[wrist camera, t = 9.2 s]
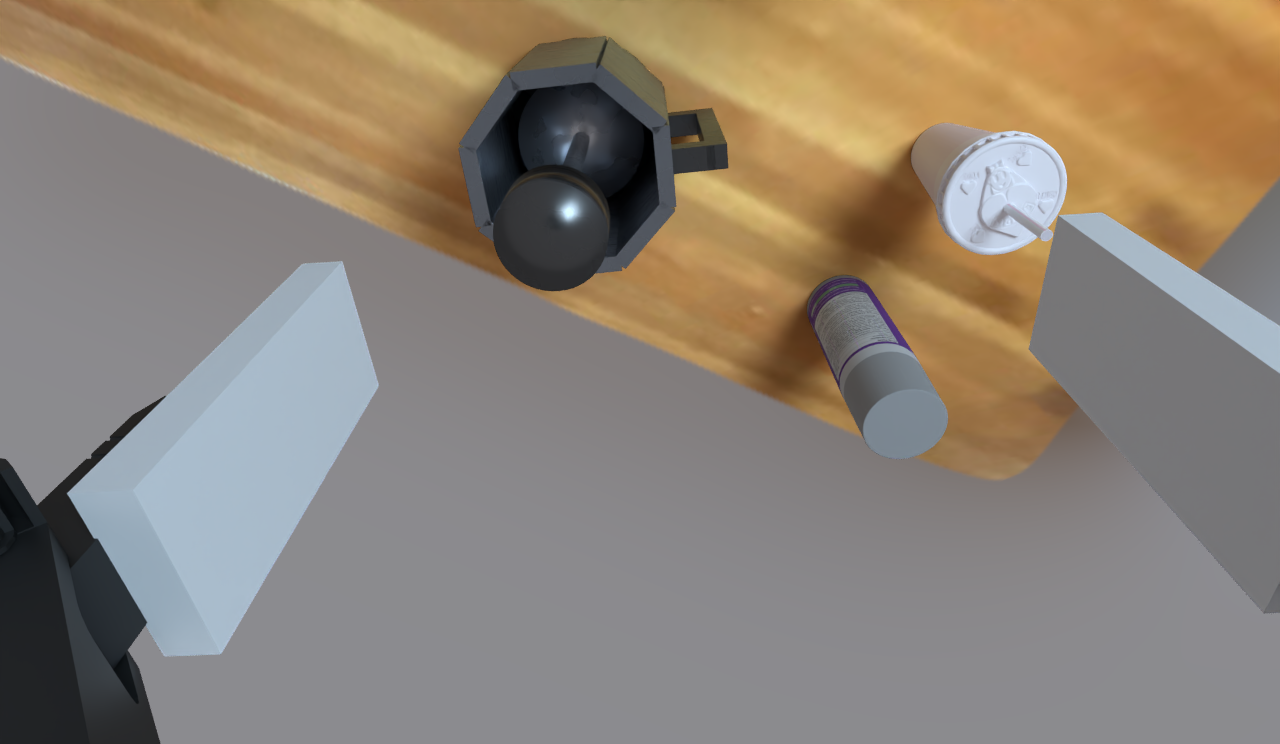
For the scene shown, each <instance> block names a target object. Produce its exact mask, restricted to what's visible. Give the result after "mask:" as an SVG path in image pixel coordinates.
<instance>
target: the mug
mask: <svg viewBox="0 0 1280 744" xmlns="http://www.w3.org/2000/svg"><path fill="white" fill-rule="evenodd" d="M589 82H594V83H595V84H596V85H597V86H599V87H600V88H601V89H602V90H603V91H605V92H606V93H607V94H608V95H609V96H611V97H612V98H613V99H614V100H615V101H617V102H618V103H619V104H620V105H621V106H623V107H624V108H625V109H626V110H627V111H628V112H630V113H631V114H632V115H633V116H634V117H636V118H637V119H638V120H639V121H640V122H642V124H643V130H644V148H643V154H642V158H641V161H640V164H639V166H638V168H637V170H636V172H635V174H634V175H633V177H632V178H631V180H630V181H629V182H628V183H627V184H626V185H625V186H624V187H623V188H622V189H620V190H619V191H618V192H616V193H615V194H613V195H611V196H609V197H607V198H606V200H607V203H608V206H609V211H610V229H609V238H608V246H607V251H606V255H605V258H604V260H603V262H602V264H601V266H600V267H599V269H598V270H597V272H596V273H604V272H614V271H622V266H623V267H624V268H625V269H626V268H627V266H628V265H629V264H630V263H631V262H632V261H633V259H634V258H635V257H636V256H637V255H638V254H639V252H640V251H641V250H642V249H643V248H644V247H645V245H646V244H647V243H648V242H649V241H650V240H651V238H652V237H653V236H654V235H655V234H656V233H657V231H658V230H659V229H660V228H661V227H662V226H663V224H664V223H665V222H666V221H667V220H668V219H669V217H670V216H671V215H672V214H673V213H674V211H675V208H674V207H676V197H675V185H674V174H679V173H688V172H698V171H707V170H717V169H726V168H728V155H727V142H726V140H725V138H724V135H723V133H722V131H721V128H720V126H719V123H718V121H717V119H716V116H715V114H714V111H713V109H712V108H708V109H699V110H689V111H680V112H671V113H668V112H667V105H666V98H665V91H664V86H662V82H661V81H660V80H658V79H657V78H656V77H655V76H654V75H653V74H651V73H650V72H649V71H648V70H647V69H646V67H645V66H644V65H643V64H642V63H641V62H640V61H639V60H638V59H637V58H636V57H634V56H633V55H632V54H631V53H629V52H628V51H626V50H624V49H623V48H621V47H620V46H619V45H618V44H617V43H616V42H615V41H613V40H612V39H611V38H609V39H608V41H607V39H606V36H603V37H594V38H572V39H567V40H562V41H559V42H551V43H542V44H538V45H537V46H535V47H534V48H533V49H532V50H531V51H530V52H529V53H528V54H527V55H526V56H525V57H524V58H523V59H522V60H521V61H520V62H519V63H518V64H516V65H515V66H514V67H513V68H512V69H511V70H510V71H509V72H508V73H507V74H506V75H505V77H504V78H503V80H502V81H501V82H500V84H499V85H498V87H497V88H496V90H495V91H494V93H493V94H492V96H491V97H490V99H489V100H488V102H487V103H486V105H485V106H484V108H483V109H482V111H481V112H480V114H479V115H478V116H477V118H476V119H475V121H474V122H473V124H472V125H471V127H470V128H469V130H468V131H467V133H466V134H465V136H464V137H463V139H462V140H461V142H460V143H459V144H461V146H460V147H459V148H458V149H459V153H460V158H461V162H462V167H463V171H464V176H465V180H466V185H467V189H468V194H469V198H470V203H471V207H472V212H473V216H474V221H475V225H476V227H481V228H480V229H479V232H481V233H482V234H483V235H485V236H486V237H488V238H489V239H490V240H492V241H493V242H494V240H493V226H494V220H495V217H496V214H497V212H498V210H499V208H500V206H501V204H502V202H503V200H504V198H505V196H506V195H507V193H508V191H509V189H510V188H511V186H512V185H513V183H514V182H515V181H516V180H517V179H518V178H519V177H520V176H521V175H523V174H524V173H526V172H527V171H528V169H527V167H526V166H525V164H524V161H523V159H522V156H521V152H520V148H519V141H518V129H519V122H520V118H521V115H522V112H523V110H524V108H525V105H526V104H527V102H528V101H529V99H530V98H531V96H532V95H533V94H534V92H535V91H536V90H537V89H538V88H544V87H553V86H562V85H571V84H580V83H589ZM697 134H698V138H699V141H700V142H691V143H681V144H672V145H671V137H678V136H688V135H697Z"/></svg>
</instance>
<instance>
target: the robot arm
mask: <svg viewBox="0 0 1280 744" xmlns="http://www.w3.org/2000/svg"><path fill="white" fill-rule="evenodd" d="M1029 350H1030V351H1031V353H1032V354H1033V355H1034V356H1035V357H1036V358H1037V359H1038V360H1039V362H1040V363H1041V364H1042V365H1043V366H1044V367H1045V368H1046V369H1047V370H1048V372H1049V373H1050V374H1051V375H1052V376H1053V377H1054V378H1055V379H1056V381H1057V382H1058V383H1059V384H1060V385H1061V386H1062V387H1063V388H1064V390H1065V391H1066V392H1067V393H1068V394H1069V395H1070V396H1071V397H1072V399H1073V400H1074V401H1075V402H1076V403H1077V404H1078V405H1079V406H1080V408H1081V409H1082V410H1083V411H1084V412H1085V413H1086V414H1087V415H1088V417H1089V418H1090V419H1091V420H1092V421H1093V422H1094V423H1095V424H1096V426H1097V427H1098V428H1099V429H1100V430H1101V431H1102V432H1103V433H1104V435H1105V436H1106V437H1107V438H1108V439H1109V440H1110V441H1111V442H1112V444H1113V445H1114V446H1115V447H1116V448H1117V449H1118V450H1119V451H1120V452H1121V454H1122V455H1123V456H1124V457H1125V458H1126V459H1127V460H1128V462H1129V463H1130V464H1131V465H1132V466H1133V467H1134V468H1135V469H1136V471H1137V472H1138V473H1139V474H1140V475H1141V476H1142V477H1143V478H1144V480H1145V481H1146V482H1147V483H1148V484H1149V485H1150V486H1151V487H1152V489H1153V490H1154V491H1155V492H1156V493H1157V494H1158V495H1159V496H1160V498H1161V499H1162V500H1163V501H1164V502H1165V503H1166V504H1167V505H1168V507H1169V508H1170V509H1171V510H1172V511H1173V512H1174V513H1175V514H1176V515H1177V517H1178V518H1179V519H1180V520H1181V521H1182V522H1183V523H1184V524H1185V526H1186V527H1187V528H1188V529H1189V530H1190V531H1191V532H1192V534H1193V535H1194V536H1195V537H1196V538H1197V539H1198V540H1199V541H1200V542H1201V543H1202V545H1203V546H1204V547H1205V548H1206V549H1207V550H1208V552H1209V553H1211V555H1212V556H1213V557H1214V558H1215V559H1216V560H1217V562H1218V563H1219V564H1220V565H1221V566H1222V567H1223V568H1224V570H1225V571H1226V572H1227V573H1228V574H1229V575H1230V576H1231V577H1232V578H1233V580H1234V581H1235V582H1236V583H1237V584H1238V585H1239V586H1240V587H1241V589H1242V590H1243V591H1244V592H1245V593H1246V594H1247V595H1248V596H1249V597H1250V599H1251V600H1252V601H1253V602H1254V603H1255V604H1256V605H1257V607H1258V608H1259V609H1260V610H1261V611H1262V612H1263V613H1280V326H1279V325H1277V324H1276V323H1274V322H1273V321H1271V320H1269V319H1268V318H1266V317H1265V316H1263V315H1261V314H1260V313H1258V312H1257V311H1255V310H1254V309H1252V308H1251V307H1249V306H1248V305H1246V304H1245V303H1243V302H1241V301H1240V300H1238V299H1236V298H1235V297H1233V296H1232V295H1230V294H1229V293H1227V292H1226V291H1224V290H1222V289H1221V288H1219V287H1218V286H1216V285H1215V284H1213V283H1211V282H1210V281H1208V280H1207V279H1205V278H1204V277H1202V276H1201V275H1199V274H1198V273H1196V272H1194V271H1193V270H1191V269H1190V268H1188V267H1187V266H1185V265H1183V264H1182V263H1180V262H1179V261H1177V260H1176V259H1174V258H1172V257H1171V256H1169V255H1168V254H1166V253H1165V252H1163V251H1162V250H1160V249H1158V248H1157V247H1155V246H1154V245H1152V244H1151V243H1149V242H1147V241H1146V240H1144V239H1143V238H1141V237H1140V236H1138V235H1136V234H1135V233H1133V232H1132V231H1130V230H1129V229H1127V228H1126V227H1124V226H1122V225H1121V224H1119V223H1118V222H1116V221H1115V220H1113V219H1111V218H1110V217H1108V216H1107V215H1105V214H1104V213H1087V214H1071V215H1058V219H1057V223H1056V228H1055V232H1054V237H1053V241H1052V246H1051V250H1050V255H1049V259H1048V264H1047V269H1046V273H1045V278H1044V282H1043V287H1042V291H1041V296H1040V300H1039V305H1038V310H1037V314H1036V319H1035V323H1034V328H1033V332H1032V337H1031V341H1030V346H1029ZM378 386H379V384H378V381H377V378H376V374H375V371H374V367H373V364H372V361H371V357H370V354H369V351H368V347H367V344H366V341H365V337H364V333H363V330H362V327H361V323H360V320H359V316H358V313H357V310H356V306H355V303H354V300H353V296H352V293H351V289H350V286H349V282H348V279H347V276H346V272H345V269H344V265H343V262H342V261H339V262H323V263H307V264H302V265H301V266H300V267H299V268H298V269H297V270H296V271H295V272H294V273H292V275H290V276H289V277H288V278H287V279H286V280H285V281H284V282H283V283H282V284H281V285H280V286H279V287H278V288H277V289H276V290H275V291H274V292H273V293H272V294H271V295H270V296H269V297H268V298H267V299H266V300H265V301H264V302H263V303H262V304H261V305H260V306H259V307H258V308H257V309H256V310H255V311H254V312H253V313H251V315H249V316H248V317H247V318H246V319H245V321H244V322H242V323H241V324H240V325H239V326H238V327H237V328H236V329H235V330H234V331H233V332H232V333H231V334H230V335H229V336H228V337H227V338H226V339H225V340H224V341H223V342H222V343H221V344H220V345H219V346H218V347H217V348H216V349H215V350H214V351H213V352H211V354H210V355H208V356H207V357H206V358H205V359H204V360H203V361H202V362H201V363H200V364H199V365H198V366H197V367H196V368H195V369H194V370H193V371H192V372H191V373H190V374H189V375H188V376H187V377H186V378H185V379H184V380H183V381H182V382H181V383H180V384H179V385H178V386H177V387H176V388H175V389H174V390H173V391H171V393H169V395H167V396H164V397H162V398H161V399H159V400H157V401H156V402H154V403H152V404H151V405H149V406H147V407H145V408H144V409H142V410H141V411H139V412H137V413H135V414H134V415H132V416H131V417H130V418H129V419H128V420H127V421H126V422H125V423H124V424H123V425H122V426H121V427H120V428H118V429H117V430H116V431H115V432H114V433H113V434H112V435H111V436H110V441H105V442H104V443H103V444H102V445H100V446H99V448H97V449H96V450H95V451H94V452H93V453H92V454H91V456H92V457H91V459H86V460H85V461H84V462H83V463H81V465H79V466H78V467H77V468H76V469H75V470H74V471H73V472H72V473H71V474H70V475H69V476H68V477H67V478H66V479H65V480H64V481H63V482H61V483H60V484H59V485H58V486H57V487H56V488H55V489H54V490H53V491H52V492H51V493H50V494H49V495H48V496H47V497H46V498H45V499H43V500H42V502H40V503H39V504H38V505H36V504H35V502H34V500H33V499H32V497H31V496H30V494H29V492H28V491H27V489H26V488H25V486H24V484H23V483H22V481H21V480H20V478H19V476H18V475H17V473H16V472H15V470H14V469H13V467H12V466H11V465H10V463H9V462H8V461H7V460H6V459H1V458H0V744H160V740H159V738H158V734H157V730H156V726H155V723H154V720H153V716H152V713H151V709H150V705H149V702H148V699H147V695H146V691H145V688H144V684H143V681H142V677H141V674H140V670H139V668H138V666H137V664H136V663H135V661H134V660H133V658H132V656H131V655H130V653H129V652H128V649H129V647H130V646H131V645H132V643H133V642H134V640H135V639H136V638H137V636H138V635H139V634H140V632H141V631H142V629H143V628H144V626H145V625H146V627H147V628H148V630H149V632H150V633H151V635H152V636H153V639H154V640H155V642H156V644H157V645H158V647H159V648H160V650H161V652H162V654H163V655H164V656H187V655H212V654H221V653H222V651H223V650H224V648H225V646H226V645H227V643H228V641H229V640H230V638H231V636H232V634H233V633H234V631H235V629H236V628H237V626H238V624H239V623H240V621H241V619H242V618H243V616H244V614H245V612H246V611H247V609H248V607H249V606H250V604H251V602H252V600H253V599H254V597H255V595H256V594H257V592H258V590H259V589H260V587H261V585H262V584H263V582H264V580H265V578H266V577H267V575H268V573H269V572H270V570H271V568H272V566H273V565H274V563H275V561H276V560H277V558H278V556H279V555H280V553H281V551H282V550H283V548H284V546H285V544H286V543H287V541H288V539H289V538H290V536H291V534H292V532H293V531H294V529H295V527H296V526H297V524H298V522H299V520H300V519H301V517H302V516H303V514H304V512H305V510H306V509H307V507H308V505H309V504H310V502H311V500H312V498H313V497H314V495H315V493H316V492H317V490H318V488H319V487H320V485H321V483H322V482H323V480H324V478H325V476H326V475H327V473H328V471H329V470H330V468H331V466H332V465H333V463H334V461H335V460H336V458H337V456H338V454H339V453H340V451H341V449H342V448H343V446H344V444H345V443H346V441H347V439H348V437H349V436H350V434H351V432H352V431H353V429H354V427H355V426H356V424H357V422H358V420H359V419H360V417H361V415H362V414H363V412H364V410H365V409H366V407H367V405H368V403H369V402H370V400H371V398H372V397H373V395H374V393H375V392H376V390H377V388H378Z"/></svg>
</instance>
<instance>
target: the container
mask: <svg viewBox="0 0 1280 744" xmlns="http://www.w3.org/2000/svg"><path fill="white" fill-rule="evenodd" d="M807 314H808V318H809V320H810V323H811V325H812V327H813V330H814V332H815V334H816V337H817V339H818V341H819V344H820V346H821V348H822V350H823V353H824V355H825V357H826V360H827V362H828V364H829V366H830V369H831V371H832V373H833V376H834V378H835V380H836V382H837V385H838V387H839V389H840V392H841V394H842V396H843V398H844V400H845V402H846V404H847V406H848V408H849V410H850V412H851V414H852V416H853V418H854V420H855V422H856V424H857V426H858V428H859V430H860V432H861V434H862V436H863V438H864V440H865V442H866V444H867V445H868V447H869V448H870V449H871V450H872V451H874V452H875V453H877V454H878V455H881V456H883V457H887V458H891V459H905V458H910V457H914V456H917V455H920V454H922V453H924V452H926V451H927V450H929V449H930V448H932V447H933V446H934V445H935V444H936V443H937V442H938V441H939V440H940V438H941V437H942V435H943V434H944V432H945V429H946V427H947V422H948V414H947V410H946V407H945V405H944V404H943V402H942V400H941V399H940V397H939V395H938V393H937V392H936V390H935V388H934V387H933V385H932V383H931V382H930V380H929V378H928V377H927V375H926V373H925V372H924V370H923V368H922V366H921V365H920V363H919V361H918V360H917V358H916V356H915V355H914V353H913V352H912V350H911V349H910V347H909V346H908V344H907V343H906V341H905V340H904V338H903V337H902V335H901V334H900V332H899V331H898V329H897V327H896V326H895V324H894V323H893V321H892V320H891V318H890V317H889V315H888V314H887V312H886V311H885V309H884V308H883V306H882V305H881V303H880V302H879V300H878V299H877V297H876V296H875V294H874V293H873V291H872V290H871V288H870V287H869V286H868V285H867V283H865V282H864V281H863V280H861V279H859V278H857V277H854V276H849V275H841V276H835V277H832V278H830V279H827V280H825V281H824V282H822V283H821V284H820V285H819V286H818V287H817V288H816V289H815V290H814V291H813V293H812V294H811V296H810V298H809V301H808V305H807Z"/></svg>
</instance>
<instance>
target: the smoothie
mask: <svg viewBox="0 0 1280 744" xmlns="http://www.w3.org/2000/svg"><path fill="white" fill-rule="evenodd" d="M911 163H912V167H913V169H914V171H915V173H916V175H917V176H918V178H919V179H920V181H921V183H922V184H923V186H924V188H925V189H926V191H927V192H928V194H929V196H930V197H931V199H932V201H933V202H934V204H935V206H936V210H937V215H938V220H939V222H940V224H941V226H942V228H943V230H944V231H945V233H946V234H947V235H948V236H949V237H950V238H951V239H952V240H953V241H954V242H956V243H958V244H959V245H960V246H962V247H963V248H965V249H967V250H969V251H971V252H974V253H978V254H985V255H997V254H1003V253H1008V252H1011V251H1014V250H1017V249H1019V248H1021V247H1023V246H1025V245H1027V244H1029V243H1030V242H1032V241H1033V240H1035V239H1036V238H1037V237H1039V238H1040V239H1041V240H1043V241H1048V240H1050V239H1051V238H1052V236H1053V233H1052V231H1051V230H1049V229H1048V227H1049V226H1050V224H1051V223H1052V222H1053V220H1054V219H1055V218H1056V216H1057V214H1058V213H1059V211H1060V209H1061V206H1062V204H1063V201H1064V198H1065V194H1066V188H1067V175H1066V170H1065V166H1064V163H1063V161H1062V159H1061V157H1060V156H1059V154H1058V153H1057V152H1056V151H1055V150H1054V149H1053V148H1052V147H1051V146H1050V145H1048V144H1047V143H1045V142H1044V141H1043V140H1042V139H1040V138H1038V137H1036V136H1034V135H1032V134H1030V133H1024V132H1018V131H1008V132H999V133H994V132H990V131H985V130H980V129H976V128H971V127H966V126H962V125H957V124H952V123H941V124H937V125H934V126H932V127H930V128H928V129H927V130H926V131H924V132H923V133H922V134H921V135H920V136H919V138H918V139H917V140H916V142H915V144H914V146H913V149H912V153H911Z"/></svg>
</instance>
